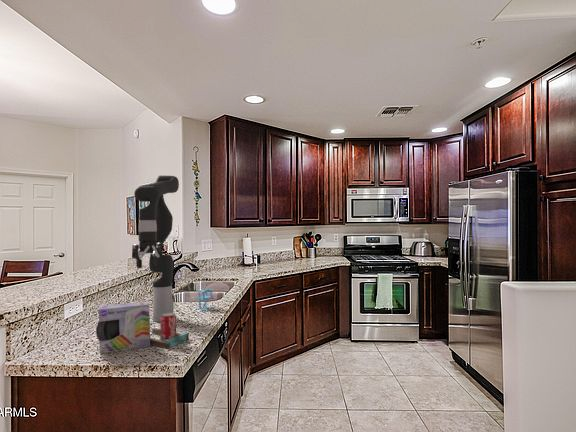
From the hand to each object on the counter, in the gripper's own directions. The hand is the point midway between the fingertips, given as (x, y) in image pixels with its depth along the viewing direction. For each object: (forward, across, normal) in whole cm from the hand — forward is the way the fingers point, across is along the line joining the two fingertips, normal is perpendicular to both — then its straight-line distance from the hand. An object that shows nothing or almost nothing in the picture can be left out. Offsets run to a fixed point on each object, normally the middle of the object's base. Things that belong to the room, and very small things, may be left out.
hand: (147, 267), depth 154 cm
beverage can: (+30, +3, +16) cm, 35 cm away
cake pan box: (+30, +15, +5) cm, 35 cm away
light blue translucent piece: (+30, -46, -9) cm, 56 cm away
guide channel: (+30, +2, +10) cm, 32 cm away
